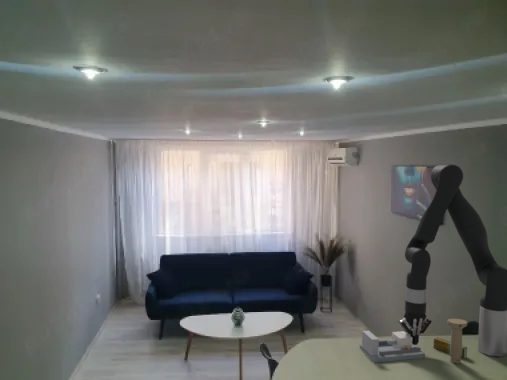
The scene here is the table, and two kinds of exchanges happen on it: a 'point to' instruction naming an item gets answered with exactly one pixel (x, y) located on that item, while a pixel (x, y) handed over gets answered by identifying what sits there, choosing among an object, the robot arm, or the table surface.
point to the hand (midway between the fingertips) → (414, 344)
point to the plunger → (400, 340)
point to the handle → (456, 339)
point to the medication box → (447, 346)
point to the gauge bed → (386, 349)
